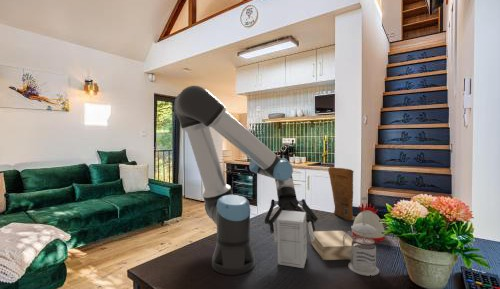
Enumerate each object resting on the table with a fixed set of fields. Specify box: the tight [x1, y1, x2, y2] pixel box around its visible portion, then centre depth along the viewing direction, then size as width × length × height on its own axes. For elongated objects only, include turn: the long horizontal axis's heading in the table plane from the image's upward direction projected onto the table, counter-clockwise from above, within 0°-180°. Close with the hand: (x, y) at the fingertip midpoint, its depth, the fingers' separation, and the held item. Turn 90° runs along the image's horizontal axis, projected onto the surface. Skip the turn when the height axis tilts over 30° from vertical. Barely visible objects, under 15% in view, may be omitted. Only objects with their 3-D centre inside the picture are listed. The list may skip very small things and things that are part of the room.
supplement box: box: [276, 210, 308, 269], centre depth 91 cm, size 10×9×17 cm
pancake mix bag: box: [327, 166, 354, 221], centre depth 144 cm, size 7×19×28 cm, turn 17°
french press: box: [343, 195, 380, 277], centre depth 87 cm, size 10×12×25 cm
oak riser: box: [310, 230, 361, 261], centre depth 100 cm, size 14×15×5 cm
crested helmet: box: [351, 202, 386, 243], centre depth 116 cm, size 14×14×15 cm
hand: (294, 240), depth 91 cm, fingers open, 13 cm apart
